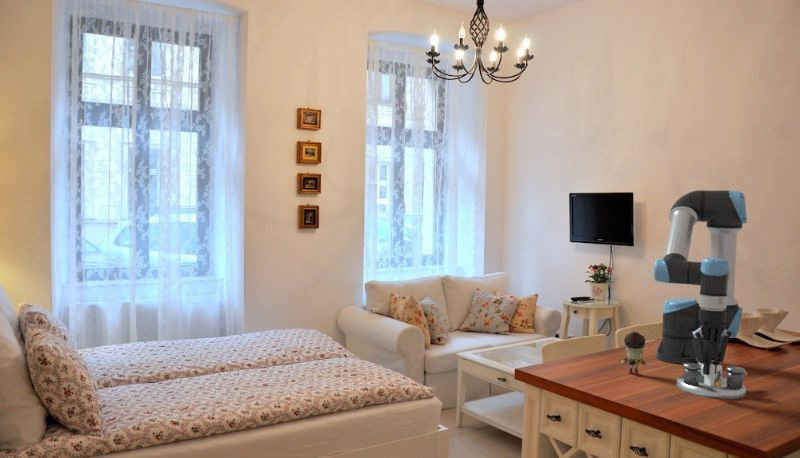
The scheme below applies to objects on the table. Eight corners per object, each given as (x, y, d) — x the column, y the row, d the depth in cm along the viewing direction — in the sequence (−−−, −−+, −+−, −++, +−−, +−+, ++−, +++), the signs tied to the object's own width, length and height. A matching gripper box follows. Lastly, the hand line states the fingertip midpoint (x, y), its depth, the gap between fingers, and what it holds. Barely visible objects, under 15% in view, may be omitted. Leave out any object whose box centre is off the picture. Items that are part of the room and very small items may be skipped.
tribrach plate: (667, 388, 203) (668, 361, 203) (689, 376, 217) (690, 351, 217) (734, 403, 189) (735, 374, 189) (753, 389, 203) (755, 363, 203)
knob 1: (678, 381, 203) (679, 363, 203) (690, 379, 205) (691, 361, 205) (714, 393, 191) (715, 374, 191) (726, 391, 193) (727, 372, 193)
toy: (647, 372, 221) (649, 330, 220) (646, 378, 214) (648, 334, 214) (621, 369, 225) (622, 327, 224) (619, 374, 218) (620, 331, 217)
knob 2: (741, 390, 195) (742, 371, 194) (722, 386, 198) (723, 368, 198) (752, 381, 204) (753, 363, 204) (735, 378, 208) (736, 360, 208)
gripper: (703, 311, 188) (699, 389, 189) (739, 310, 191) (736, 387, 192) (686, 307, 195) (682, 382, 196) (721, 306, 198) (718, 380, 199)
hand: (709, 384), depth 194 cm, fingers closed
